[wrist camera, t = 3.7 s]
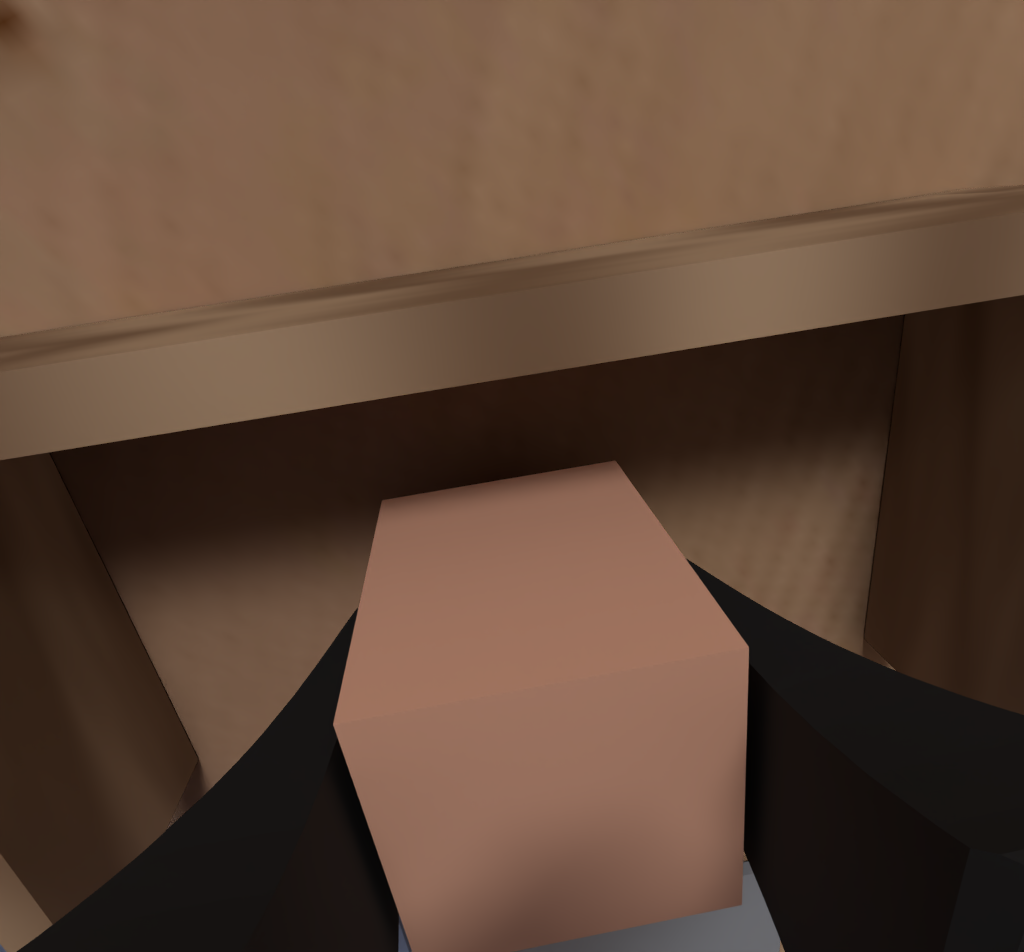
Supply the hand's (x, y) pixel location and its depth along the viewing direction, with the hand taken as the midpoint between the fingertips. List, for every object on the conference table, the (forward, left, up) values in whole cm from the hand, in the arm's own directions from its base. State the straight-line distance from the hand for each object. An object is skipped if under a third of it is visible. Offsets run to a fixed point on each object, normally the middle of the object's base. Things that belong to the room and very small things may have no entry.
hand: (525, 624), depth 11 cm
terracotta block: (0, 0, -2) cm, 2 cm away
